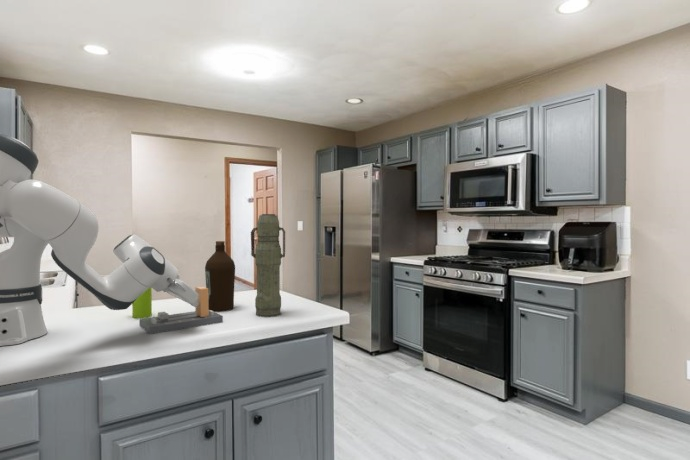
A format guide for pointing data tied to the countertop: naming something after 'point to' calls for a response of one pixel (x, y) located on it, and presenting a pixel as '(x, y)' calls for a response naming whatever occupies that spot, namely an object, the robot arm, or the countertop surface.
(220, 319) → the console
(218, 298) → the olive oil
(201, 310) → the fader lever
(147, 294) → the soap dispenser
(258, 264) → the thermos
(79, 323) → the countertop surface
